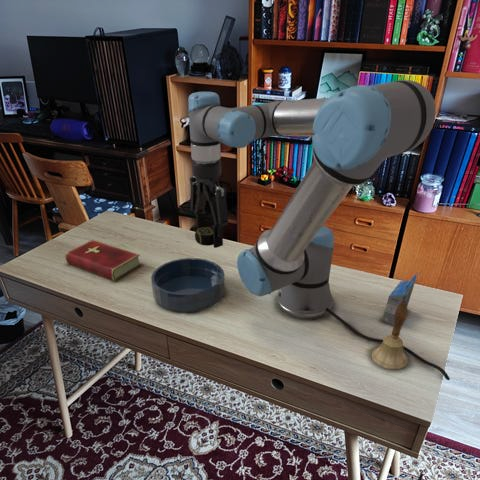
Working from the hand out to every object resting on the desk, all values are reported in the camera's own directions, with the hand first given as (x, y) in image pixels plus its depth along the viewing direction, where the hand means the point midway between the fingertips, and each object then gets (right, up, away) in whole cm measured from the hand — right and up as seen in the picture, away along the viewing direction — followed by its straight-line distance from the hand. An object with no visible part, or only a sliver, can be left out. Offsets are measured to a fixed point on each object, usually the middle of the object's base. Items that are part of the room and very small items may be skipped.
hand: (210, 241), depth 127 cm
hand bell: (+44, -32, -21) cm, 59 cm away
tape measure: (0, 0, +1) cm, 1 cm away
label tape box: (+50, -22, -7) cm, 55 cm away
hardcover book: (-35, -5, +16) cm, 39 cm away
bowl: (-6, -15, +2) cm, 16 cm away
